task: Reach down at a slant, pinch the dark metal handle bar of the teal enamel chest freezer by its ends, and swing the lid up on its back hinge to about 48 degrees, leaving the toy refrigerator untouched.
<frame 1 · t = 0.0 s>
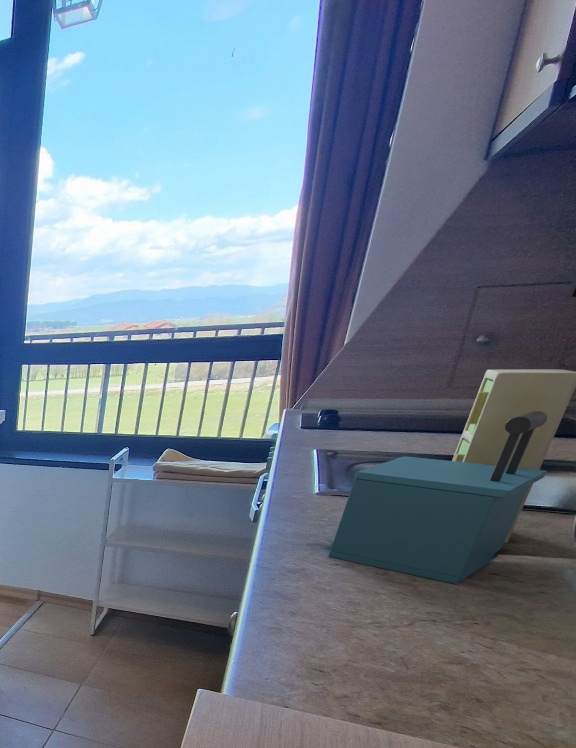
freezer: (411, 556, 77), on the countertop
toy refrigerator: (458, 538, 83), on the countertop
freezer lid: (460, 445, 71), point 14 cm above the countertop, hinge at 0.0°
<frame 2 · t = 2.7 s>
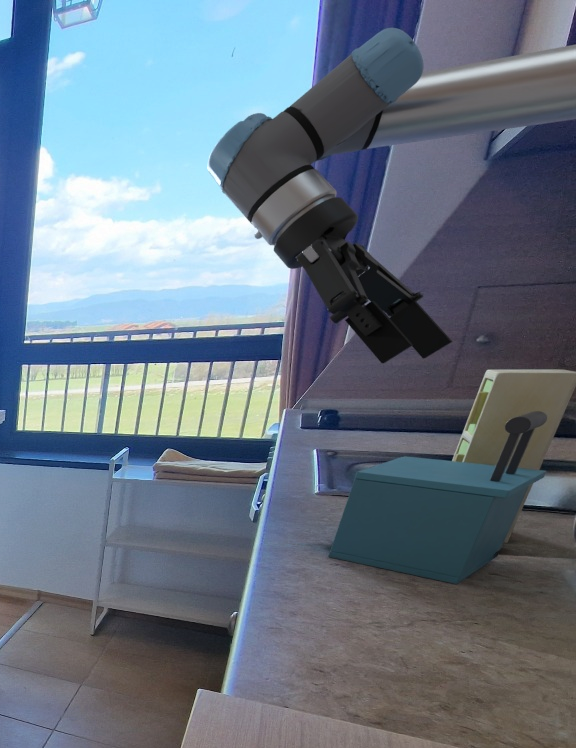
hand: (418, 352, 73), 23 cm above the countertop, tool tilted 45°, fingers open, 13 cm apart
nothing on the countertop moved.
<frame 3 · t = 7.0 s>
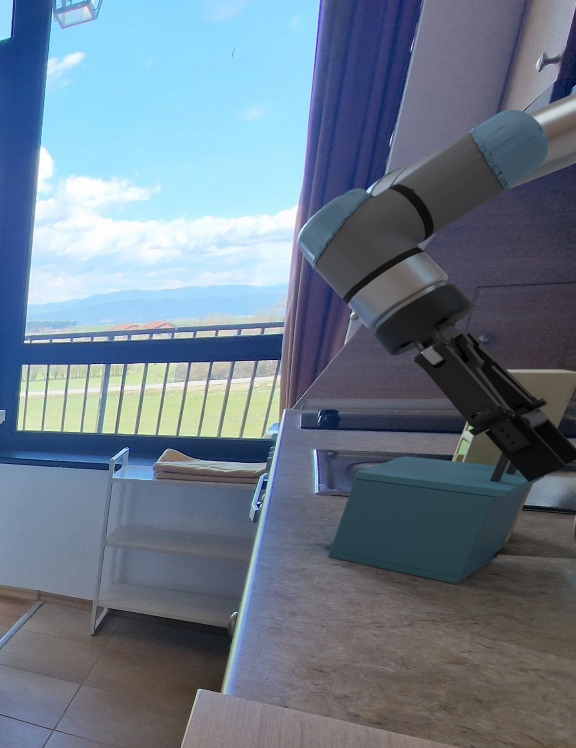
hand: (556, 468, 66), 12 cm above the countertop, tool tilted 45°, fingers closed on freezer lid, 7 cm apart
freezer lid: (460, 445, 71), point 14 cm above the countertop, hinge at 0.0°, touching gripper
everything else where it was.
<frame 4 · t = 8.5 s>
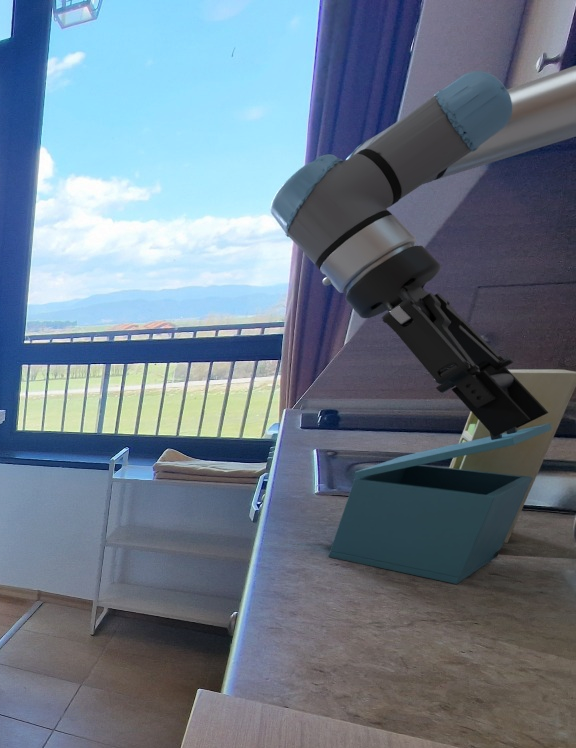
hand: (521, 424, 67), 16 cm above the countertop, tool tilted 45°, fingers closed on freezer lid, 7 cm apart
freezer lid: (444, 422, 72), point 16 cm above the countertop, hinge at 25.1°, touching gripper
everything else where it was.
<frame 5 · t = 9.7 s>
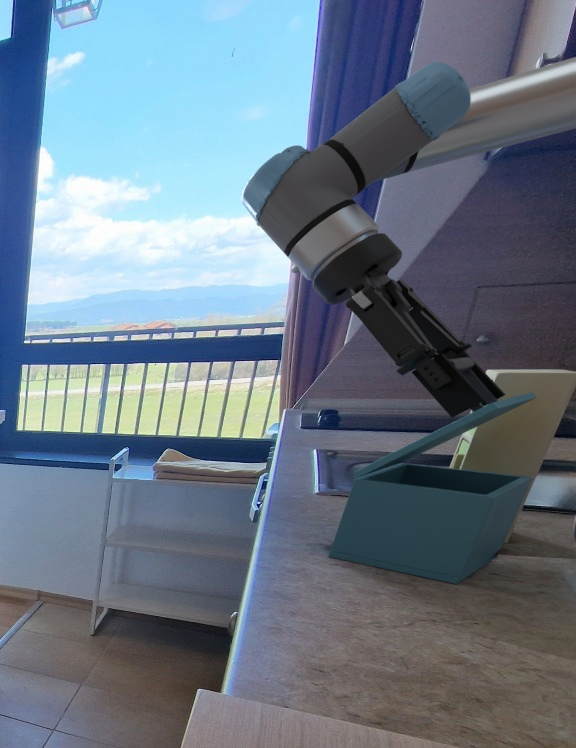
hand: (478, 405, 70), 18 cm above the countertop, tool tilted 45°, fingers closed on freezer lid, 7 cm apart
freezer lid: (424, 412, 73), point 17 cm above the countertop, hinge at 43.6°, touching gripper
everything else where it was.
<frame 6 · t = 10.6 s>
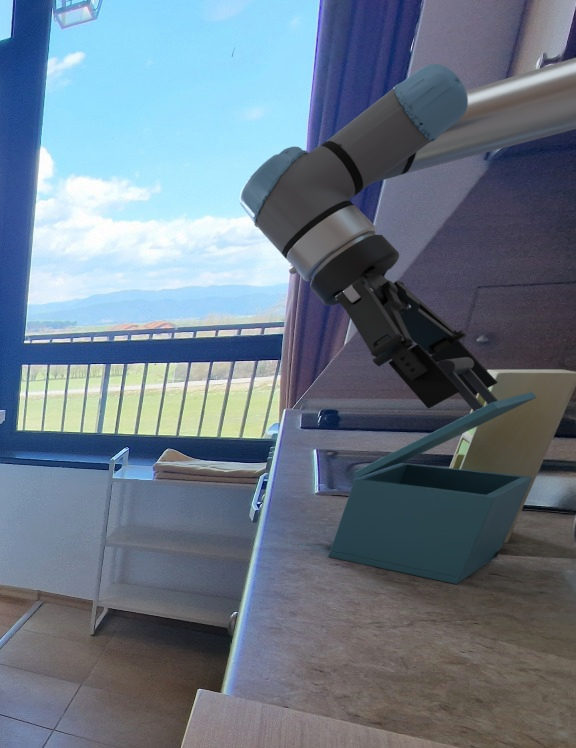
hand: (464, 395, 70), 19 cm above the countertop, tool tilted 45°, fingers open, 13 cm apart
freezer lid: (424, 411, 73), point 17 cm above the countertop, hinge at 43.7°
everything else where it was.
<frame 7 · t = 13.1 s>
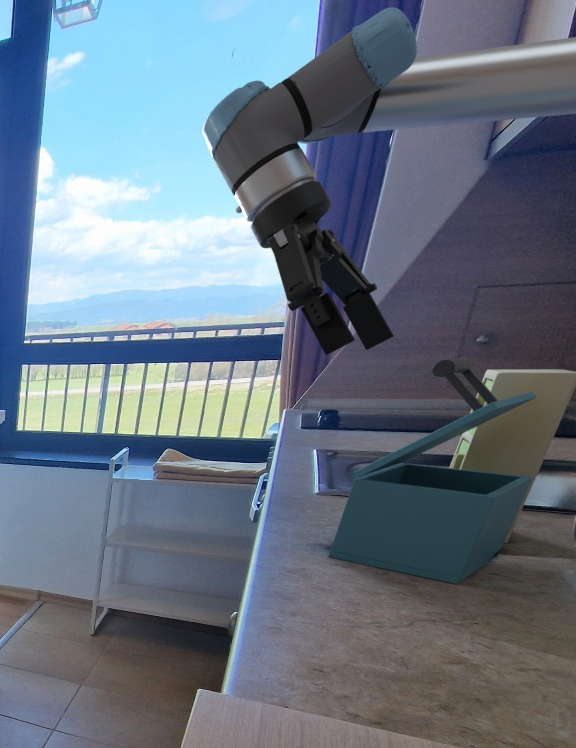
hand: (361, 345, 78), 24 cm above the countertop, tool tilted 35°, fingers open, 13 cm apart
nothing on the countertop moved.
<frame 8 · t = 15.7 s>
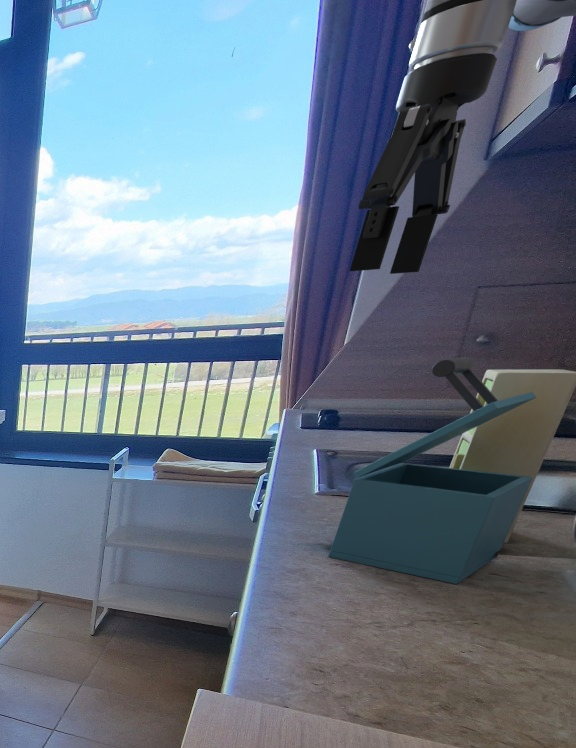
hand: (384, 272, 80), 33 cm above the countertop, tool pointing down, fingers open, 13 cm apart
nothing on the countertop moved.
at the end: freezer lid at +44° (first picture: +0°); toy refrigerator moved 0.2 cm from its start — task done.
